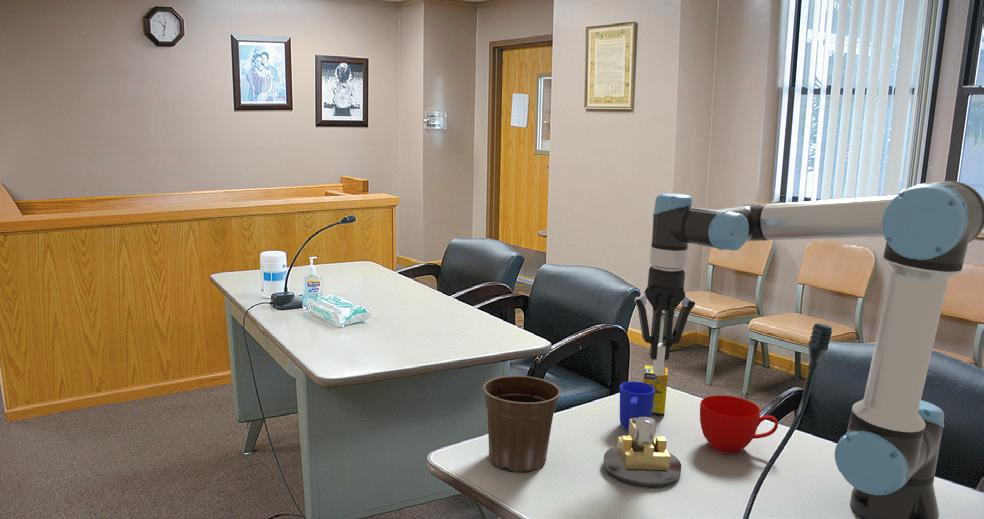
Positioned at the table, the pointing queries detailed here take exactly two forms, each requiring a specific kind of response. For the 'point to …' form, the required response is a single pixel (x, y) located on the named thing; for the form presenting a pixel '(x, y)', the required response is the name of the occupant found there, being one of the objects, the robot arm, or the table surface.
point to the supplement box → (657, 389)
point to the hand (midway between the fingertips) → (657, 373)
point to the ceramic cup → (731, 422)
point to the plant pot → (519, 420)
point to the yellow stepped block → (643, 452)
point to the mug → (635, 401)
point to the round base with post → (641, 476)
